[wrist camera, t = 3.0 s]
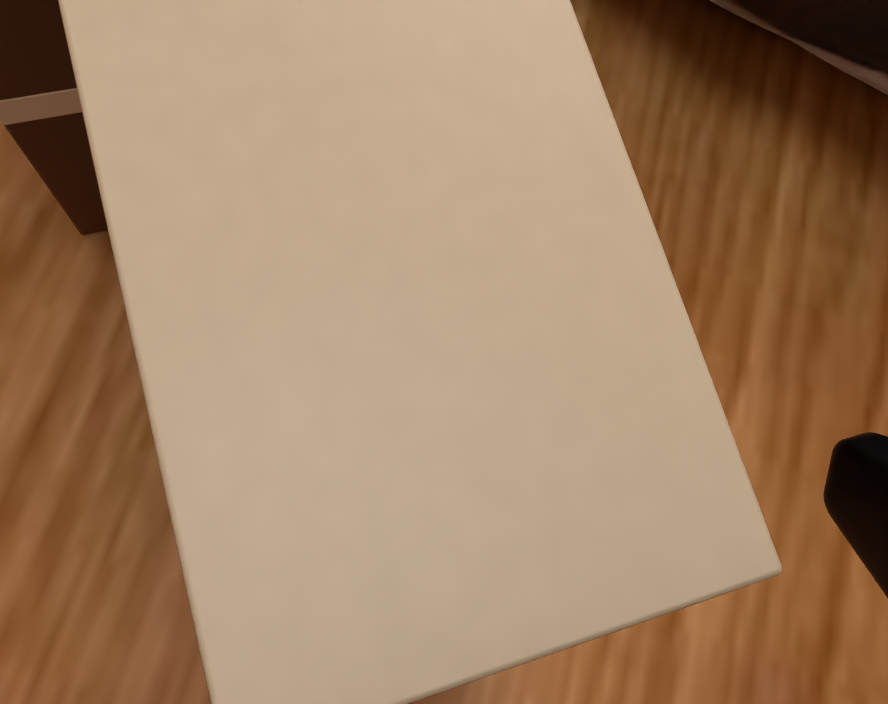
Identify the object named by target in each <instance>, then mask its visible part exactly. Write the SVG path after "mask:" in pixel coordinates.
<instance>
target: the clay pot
mask: <svg viewBox="0 0 888 704" xmlns="http://www.w3.org/2000/svg"><path fill="white" fill-rule="evenodd" d="M709 1H711V2H713V3H715V4H717V5H718V6H720V7H722V8H724V9H726V10H728V11H729V12H731V13H733V14H735V15H737V16H739V17H742V18H744V19H746V20H748V21H750V22H752V23H754V24H756V25H758V26H760V27H762V28H764V29H767V30H769V31H771V32H773V33H775V34H777V35H779V36H781V37H783V38H786V39H788V40H790V41H792V42H793V43H795V44H797V45H798V46H800V47H802V48H803V49H805V50H807V51H809V52H810V53H812V54H814V55H815V56H817V57H819V58H821V59H822V60H824V61H826V62H827V63H829V64H831V65H832V66H834V67H836V68H838V69H839V70H841V71H843V72H845V73H847V74H849V75H851V76H853V77H855V78H857V79H859V80H861V81H862V82H864V83H866V84H868V85H870V86H871V87H873V88H875V89H877V90H878V91H880V92H882V93H884V94H885V95H887V96H888V0H709Z"/></svg>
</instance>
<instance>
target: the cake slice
mask: <svg viewBox="0 0 888 704" xmlns="http://www.w3.org/2000/svg"><path fill="white" fill-rule="evenodd" d="M58 2H59V7H60V11H61V16H62V21H63V25H64V30H65V34H66V39H67V44H68V48H69V53H70V57H71V62H72V67H73V71H74V76H75V80H76V85H77V90H78V94H79V99H80V103H81V108H82V113H83V117H84V122H85V126H86V131H87V136H88V140H89V145H90V149H91V154H92V159H93V163H94V168H95V172H96V177H97V182H98V186H99V191H100V195H101V200H102V205H103V209H104V214H105V218H106V223H107V228H108V232H109V237H110V241H111V246H112V251H113V255H114V260H115V264H116V269H117V274H118V278H119V283H120V287H121V292H122V296H123V301H124V306H125V310H126V315H127V319H128V324H129V329H130V333H131V338H132V342H133V347H134V352H135V356H136V361H137V365H138V370H139V375H140V379H141V384H142V388H143V393H144V398H145V402H146V407H147V411H148V416H149V421H150V425H151V430H152V434H153V439H154V444H155V448H156V453H157V457H158V462H159V467H160V471H161V476H162V480H163V485H164V490H165V494H166V499H167V503H168V508H169V513H170V517H171V522H172V526H173V531H174V536H175V540H176V545H177V549H178V554H179V559H180V563H181V568H182V572H183V577H184V582H185V586H186V591H187V595H188V600H189V605H190V609H191V614H192V618H193V623H194V628H195V632H196V637H197V641H198V646H199V651H200V655H201V660H202V664H203V669H204V674H205V678H206V683H207V687H208V692H209V697H210V701H211V704H410V703H413V702H415V701H418V700H421V699H424V698H427V697H430V696H433V695H436V694H438V693H441V692H444V691H447V690H450V689H453V688H456V687H459V686H461V685H464V684H467V683H470V682H473V681H476V680H479V679H482V678H484V677H487V676H490V675H493V674H496V673H499V672H502V671H505V670H507V669H510V668H513V667H516V666H519V665H522V664H525V663H527V662H530V661H533V660H536V659H539V658H542V657H545V656H548V655H550V654H553V653H556V652H559V651H562V650H565V649H568V648H571V647H573V646H576V645H579V644H582V643H585V642H588V641H591V640H594V639H596V638H599V637H602V636H605V635H608V634H611V633H614V632H616V631H619V630H622V629H625V628H628V627H631V626H634V625H637V624H639V623H642V622H645V621H648V620H651V619H654V618H657V617H660V616H662V615H665V614H668V613H671V612H674V611H677V610H680V609H683V608H685V607H688V606H691V605H694V604H697V603H700V602H703V601H706V600H708V599H711V598H714V597H717V596H720V595H723V594H726V593H728V592H731V591H734V590H737V589H740V588H743V587H746V586H749V585H751V584H754V583H757V582H760V581H763V580H766V579H769V578H772V577H774V576H777V575H778V574H779V573H781V572H782V566H781V563H780V561H779V558H778V555H777V553H776V550H775V547H774V544H773V542H772V539H771V536H770V534H769V531H768V528H767V526H766V523H765V520H764V518H763V515H762V512H761V510H760V507H759V504H758V502H757V499H756V496H755V494H754V491H753V488H752V486H751V483H750V480H749V478H748V475H747V472H746V470H745V467H744V464H743V462H742V459H741V456H740V454H739V451H738V448H737V445H736V443H735V440H734V437H733V435H732V432H731V429H730V427H729V424H728V421H727V419H726V416H725V413H724V411H723V408H722V405H721V403H720V400H719V397H718V395H717V392H716V389H715V387H714V384H713V381H712V379H711V376H710V373H709V371H708V368H707V365H706V363H705V360H704V357H703V355H702V352H701V349H700V346H699V344H698V341H697V338H696V336H695V333H694V330H693V328H692V325H691V322H690V320H689V317H688V314H687V312H686V309H685V306H684V304H683V301H682V298H681V296H680V293H679V290H678V288H677V285H676V282H675V280H674V277H673V274H672V272H671V269H670V266H669V264H668V261H667V258H666V256H665V253H664V250H663V247H662V245H661V242H660V239H659V237H658V234H657V231H656V229H655V226H654V223H653V221H652V218H651V215H650V213H649V210H648V207H647V205H646V202H645V199H644V197H643V194H642V191H641V189H640V186H639V183H638V181H637V178H636V175H635V173H634V170H633V167H632V165H631V162H630V159H629V157H628V154H627V151H626V148H625V146H624V143H623V140H622V138H621V135H620V132H619V130H618V127H617V124H616V122H615V119H614V116H613V114H612V111H611V108H610V106H609V103H608V100H607V98H606V95H605V92H604V90H603V87H602V84H601V82H600V79H599V76H598V74H597V71H596V68H595V66H594V63H593V60H592V58H591V55H590V52H589V49H588V47H587V44H586V41H585V39H584V36H583V33H582V31H581V28H580V25H579V23H578V20H577V17H576V15H575V12H574V9H573V7H572V4H571V1H570V0H58Z"/></svg>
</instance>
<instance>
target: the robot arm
mask: <svg viewBox="0 0 888 704" xmlns="http://www.w3.org/2000/svg"><path fill="white" fill-rule="evenodd" d="M824 502H825V505H826V508H827V510H828V513H829V514H830V516H831V518H832V519H833V520H834V522H835V523H836V525H837V526H838V528H839V529H840V531H841V532H842V533H843V535H844V536H845V538H846V539H847V541H848V542H849V543H850V545H851V546H852V548H853V549H854V551H855V552H856V553H857V555H858V556H859V558H860V559H861V561H862V562H863V563H864V565H865V566H866V568H867V569H868V571H869V572H870V573H871V575H872V576H873V578H874V579H875V581H876V582H877V583H878V585H879V586H880V588H881V589H882V591H883V592H884V594H885V595H886V596H887V598H888V437H887V436H884V435H881V434H877V433H871V432H870V433H863V434H859V435H856V436H853V437H850V438H846V439H843V440H841V441H839V442H838V443H837V444H836V445H835V447H834V449H833V451H832V456H831V461H830V465H829V470H828V475H827V479H826V484H825V489H824Z"/></svg>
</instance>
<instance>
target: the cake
mask: <svg viewBox="0 0 888 704" xmlns="http://www.w3.org/2000/svg"><path fill="white" fill-rule="evenodd" d="M0 123H1V124H3V125H4V126H5V127H6V129H7V130H8V131H9V133H10V134H11V136H12V137H13V138H14V140H15V141H16V143H17V144H18V146H19V147H20V148H21V150H22V151H23V153H24V154H25V155H26V157H27V158H28V160H29V161H30V162H31V164H32V165H33V167H34V168H35V170H36V171H37V172H38V174H39V175H40V177H41V178H42V179H43V181H44V182H45V184H46V185H47V187H48V188H49V189H50V191H51V192H52V194H53V195H54V196H55V198H56V199H57V201H58V202H59V204H60V205H61V206H62V208H63V209H64V211H65V212H66V213H67V215H68V216H69V218H70V219H71V221H72V222H73V223H74V225H75V226H76V228H77V229H78V230H79V232H80V233H81V234H85V233H90V232H95V231H100V230H105V229H108V228H107V223H106V218H105V214H104V209H103V205H102V200H101V195H100V191H99V186H98V182H97V177H96V172H95V168H94V163H93V159H92V154H91V149H90V145H89V140H88V136H87V131H86V126H85V122H84V117H83V113H82V108H81V103H80V99H79V94H78V90H77V85H76V80H75V76H74V71H73V67H72V62H71V57H70V53H69V48H68V44H67V39H66V34H65V30H64V25H63V21H62V16H61V11H60V7H59V2H58V0H0Z"/></svg>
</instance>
